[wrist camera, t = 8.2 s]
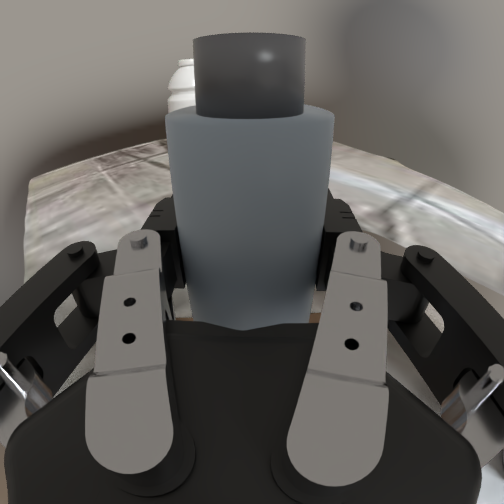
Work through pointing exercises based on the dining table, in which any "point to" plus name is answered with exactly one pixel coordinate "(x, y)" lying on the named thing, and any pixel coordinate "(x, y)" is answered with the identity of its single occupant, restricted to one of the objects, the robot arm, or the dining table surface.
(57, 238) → the dining table surface
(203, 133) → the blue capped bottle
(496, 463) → the dining table surface
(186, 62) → the bottle
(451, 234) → the dining table surface
